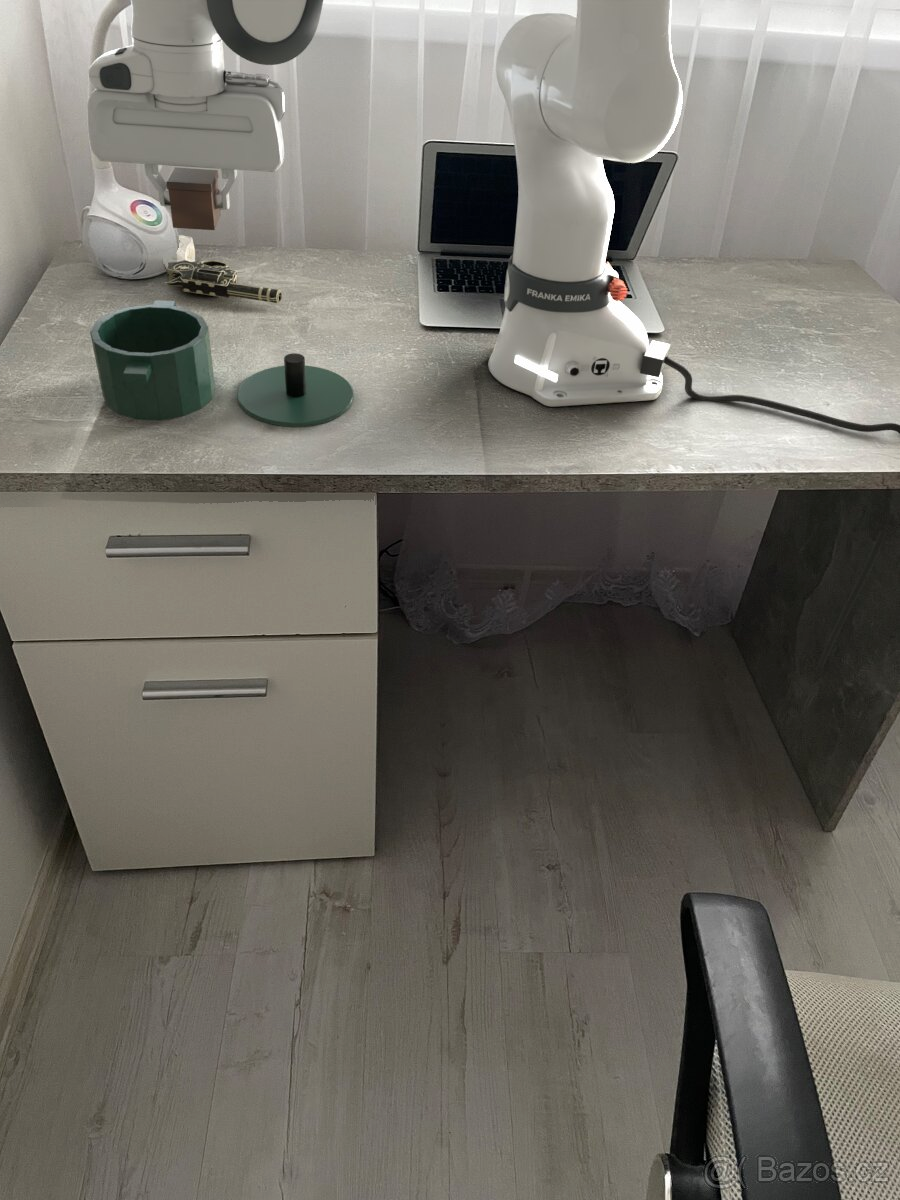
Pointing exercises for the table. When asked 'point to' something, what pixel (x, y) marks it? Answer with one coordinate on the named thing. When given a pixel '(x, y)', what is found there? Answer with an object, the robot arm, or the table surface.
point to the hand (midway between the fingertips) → (195, 206)
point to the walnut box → (193, 198)
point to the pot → (154, 361)
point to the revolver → (211, 276)
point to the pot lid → (295, 394)
